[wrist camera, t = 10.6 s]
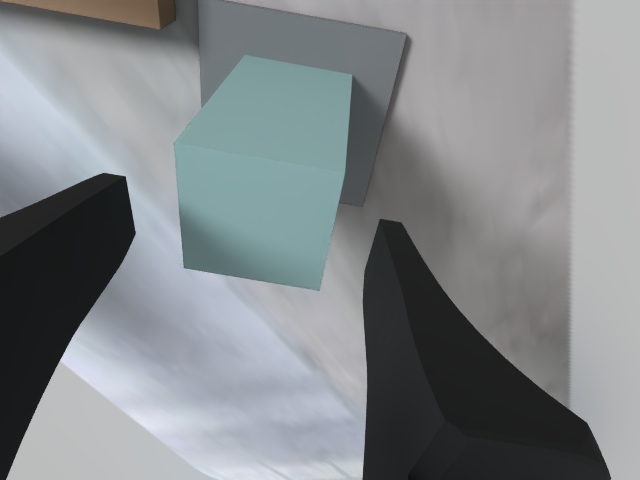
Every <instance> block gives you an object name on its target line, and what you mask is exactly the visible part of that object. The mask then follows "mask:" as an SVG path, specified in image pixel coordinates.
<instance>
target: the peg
mask: <svg viewBox="0 0 640 480" xmlns="http://www.w3.org/2000/svg"><path fill="white" fill-rule="evenodd" d="M351 87H352V74H347V73H341V72H336V71H330V70H325V69H319V68H314V67H308V66H303V65H297V64H292V63H287V62H281V61H276V60H270V59H265V58H259V57H254V56H248V55H245V56H244V57H243V58H242V59H241V60H240V62H239V63H238V64H237V65H236V67H235V68H234V69H233V70H232V72H231V73H230V74H229V75H228V76H227V78H226V79H225V80H224V81H223V83H222V84H221V85H220V86H219V88H218V89H217V90H216V91H215V93H214V94H213V95H212V96H211V97H210V99H209V100H208V101H207V102H206V104H205V105H204V106H203V107H202V109H201V110H200V111H199V112H198V114H197V115H196V116H195V117H194V118H193V120H192V121H191V122H190V123H189V125H188V126H187V127H186V128H185V130H184V131H183V132H182V133H181V135H180V136H179V137H178V138H177V139H176V141H175V142H174V152H175V164H176V176H177V189H178V201H179V214H180V226H181V238H182V251H183V263H184V268H186V269H192V270H198V271H204V272H210V273H216V274H222V275H228V276H234V277H240V278H246V279H252V280H258V281H264V282H270V283H276V284H282V285H288V286H294V287H300V288H306V289H312V290H317V291H320V286H321V282H322V277H323V273H324V268H325V263H326V259H327V254H328V249H329V245H330V240H331V236H332V231H333V226H334V222H335V217H336V213H337V208H338V203H339V199H340V194H341V189H342V185H343V180H344V176H345V167H346V154H347V140H348V127H349V114H350V100H351Z"/></svg>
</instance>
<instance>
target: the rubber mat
mask: <svg viewBox="0 0 640 480" xmlns="http://www.w3.org/2000/svg"><path fill="white" fill-rule="evenodd" d="M197 1H198V27H199V53H200V80H201V106H202V107H203V106H204V105H205V104H206V102H207V101H208V100H209V99H210V97H211V96H212V95H213V94H214V93H215V91H216V90H217V89H218V88H219V86H220V85H221V84H222V83H223V81H224V80H225V79H226V78H227V76H228V75H229V74H230V73H231V72H232V70H233V69H234V68H235V67H236V65H237V64H238V63H239V62H240V60H241V59H242V58H243V57H244V56H245V55H248V56H254V57H259V58H265V59H270V60H276V61H281V62H287V63H292V64H297V65H303V66H308V67H314V68H319V69H325V70H330V71H336V72H341V73H347V74H352V87H351V100H350V114H349V127H348V140H347V154H346V167H345V176H344V180H343V185H342V189H341V194H340V199H339V203H345V204H351V205H357V206H362V207H363V204H364V200H365V196H366V192H367V188H368V184H369V180H370V176H371V172H372V168H373V165H374V161H375V157H376V153H377V149H378V145H379V141H380V137H381V133H382V129H383V126H384V122H385V118H386V114H387V110H388V106H389V102H390V98H391V94H392V90H393V86H394V83H395V79H396V75H397V71H398V67H399V63H400V59H401V55H402V51H403V47H404V44H405V40H406V36H407V34H406V33H402V32H397V31H391V30H386V29H380V28H375V27H369V26H364V25H358V24H353V23H347V22H342V21H336V20H330V19H325V18H319V17H314V16H308V15H303V14H297V13H292V12H286V11H281V10H275V9H270V8H264V7H258V6H253V5H247V4H242V3H236V2H231V1H225V0H197Z"/></svg>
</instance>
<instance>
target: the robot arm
mask: <svg viewBox="0 0 640 480" xmlns="http://www.w3.org/2000/svg"><path fill="white" fill-rule="evenodd" d="M135 234H136V232H135V227H134V221H133V215H132V210H131V204H130V198H129V193H128V187H127V181H126V176H120V175H114V174H108V173H102V174H99V175H97V176H94V177H92V178H89V179H87V180H85V181H83V182H80V183H78V184H76V185H74V186H72V187H69V188H67V189H65V190H63V191H61V192H59V193H56V194H54V195H52V196H50V197H48V198H46V199H43V200H41V201H39V202H37V203H35V204H32V205H30V206H28V207H25V208H23V209H21V210H18V211H16V212H13V213H11V214H9V215H6V216H4V217H1V218H0V480H6V478H7V476H8V473H9V471H10V468H11V466H12V463H13V461H14V459H15V456H16V454H17V451H18V449H19V446H20V444H21V441H22V439H23V437H24V435H25V432H26V430H27V428H28V426H29V423H30V421H31V419H32V417H33V415H34V413H35V410H36V408H37V405H38V404H39V402H40V399H41V397H42V395H43V393H44V391H45V389H46V387H47V385H48V383H49V381H50V379H51V377H52V375H53V373H54V371H55V368H56V367H57V365H58V363H59V361H60V359H61V358H62V356H63V354H64V352H65V350H66V348H67V346H68V344H69V342H70V341H71V339H72V337H73V335H74V334H75V332H76V331H77V329H78V327H79V326H80V324H81V323H82V321H83V320H84V318H85V317H86V315H87V314H88V312H89V311H90V309H91V308H92V307H93V305H94V304H95V302H96V301H97V299H98V298H99V296H100V295H101V293H102V292H103V290H104V289H105V288H106V286H107V285H108V283H109V282H110V280H111V279H112V277H113V276H114V274H115V273H116V271H117V270H118V268H119V267H120V265H121V263H122V262H123V260H124V258H125V256H126V254H127V252H128V250H129V248H130V245H131V243H132V241H133V239H134V236H135ZM363 314H364V330H365V345H366V360H367V408H366V430H365V450H364V466H363V480H611V477H610V474H609V470H608V468H607V465H606V463H605V461H604V458H603V456H602V454H601V451H600V449H599V446H598V444H597V442H596V440H595V438H594V436H593V434H592V431H591V430H590V428H589V426H588V424H587V423H586V422H585V421H584V420H582V419H581V418H580V417H578V416H577V415H576V414H574V413H573V412H572V411H570V410H569V409H568V408H566V407H565V406H563V405H562V404H561V403H559V402H558V401H557V400H555V399H554V398H553V397H551V396H550V395H549V394H547V393H546V392H545V391H543V390H542V389H541V388H540V387H538V386H537V385H536V384H535V383H534V382H532V381H531V380H530V379H529V378H528V377H526V376H525V375H524V374H523V373H522V372H520V371H519V370H518V369H517V368H516V367H515V366H514V365H512V364H511V363H510V362H509V361H508V360H507V359H506V358H505V357H504V356H502V355H501V354H500V353H499V352H498V351H497V350H496V349H495V348H494V347H493V346H492V345H491V344H490V343H489V342H488V341H487V340H486V339H485V338H484V337H483V336H482V335H481V334H480V333H479V332H478V331H477V330H476V329H475V328H474V326H473V325H472V324H471V323H470V322H469V321H468V320H467V318H466V317H465V316H464V315H463V314H462V313H461V312H460V311H459V309H458V308H457V307H456V306H455V304H454V303H453V302H452V301H451V299H450V298H449V297H448V295H447V294H446V293H445V291H444V290H443V289H442V287H441V286H440V285H439V283H438V282H437V280H436V279H435V277H434V276H433V274H432V273H431V271H430V270H429V268H428V267H427V265H426V263H425V262H424V260H423V259H422V257H421V255H420V254H419V252H418V250H417V249H416V247H415V245H414V243H413V242H412V240H411V238H410V236H409V235H408V233H407V231H406V229H405V228H404V226H403V224H402V223H401V222H395V221H389V220H383V219H380V221H379V224H378V228H377V231H376V234H375V238H374V241H373V244H372V248H371V251H370V255H369V258H368V261H367V265H366V268H365V273H364V288H363Z"/></svg>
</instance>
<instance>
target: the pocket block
mask: <svg viewBox="0 0 640 480" xmlns="http://www.w3.org/2000/svg"><path fill="white" fill-rule="evenodd" d="M0 1H4V2H9V3H15V4H20V5H26V6H32V7H37V8H43V9H48V10H54V11H60V12H65V13H71V14H77V15H82V16H88V17H93V18H99V19H105V20H110V21H116V22H121V23H127V24H133V25H138V26H144V27H149V28H155V29H162V28H163V27H165V26H167V25H168V24H170V23H172V22H173V21H175V20H176V17H175V3H174V0H0Z"/></svg>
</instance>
